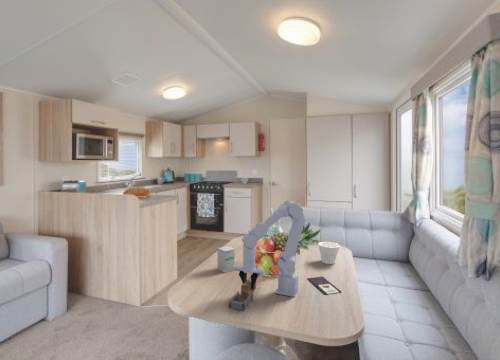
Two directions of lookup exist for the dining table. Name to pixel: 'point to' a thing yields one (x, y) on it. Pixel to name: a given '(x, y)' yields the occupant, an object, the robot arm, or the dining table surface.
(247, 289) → the slat
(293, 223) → the robot arm
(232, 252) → the supplement box
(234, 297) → the gray angular bracket
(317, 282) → the chocolate bar
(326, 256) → the cup
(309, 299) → the dining table surface
